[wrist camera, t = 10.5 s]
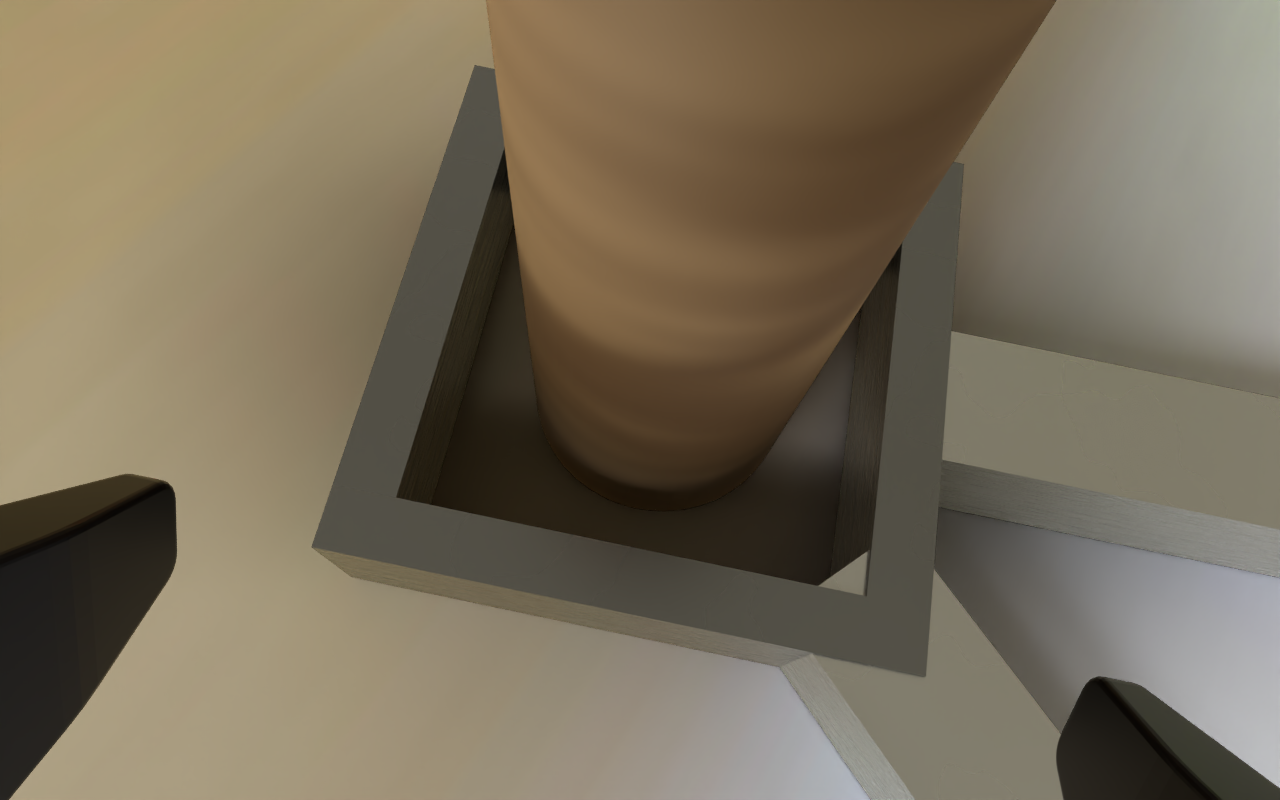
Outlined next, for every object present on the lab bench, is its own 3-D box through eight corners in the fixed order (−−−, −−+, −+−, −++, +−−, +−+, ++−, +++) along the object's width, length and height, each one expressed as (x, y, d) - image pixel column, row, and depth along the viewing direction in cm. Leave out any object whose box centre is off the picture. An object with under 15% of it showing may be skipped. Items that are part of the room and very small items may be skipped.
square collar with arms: (1356, 1140, 14) (1516, 1221, 11) (248, 900, 14) (181, 931, 12) (1287, 310, 19) (1386, 249, 17) (487, 147, 19) (475, 65, 17)
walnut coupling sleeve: (599, 553, 16) (655, -21, 4) (498, 333, 18) (318, -566, 6) (825, 449, 17) (1408, -259, 5) (712, 250, 19) (957, -669, 7)
